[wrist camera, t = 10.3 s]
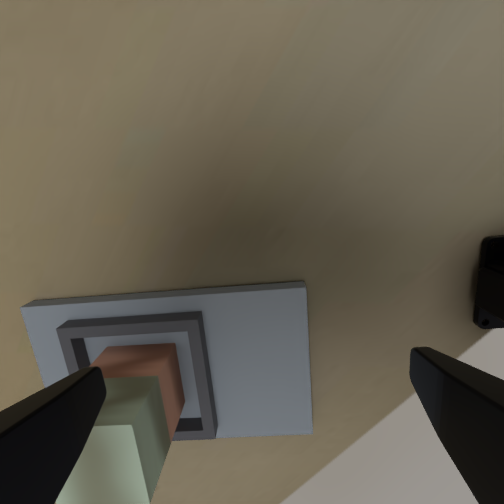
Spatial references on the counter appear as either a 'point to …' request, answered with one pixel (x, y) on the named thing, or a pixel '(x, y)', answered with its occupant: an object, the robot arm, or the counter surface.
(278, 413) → the nest board
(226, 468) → the counter surface
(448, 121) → the counter surface
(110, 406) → the brick stack
